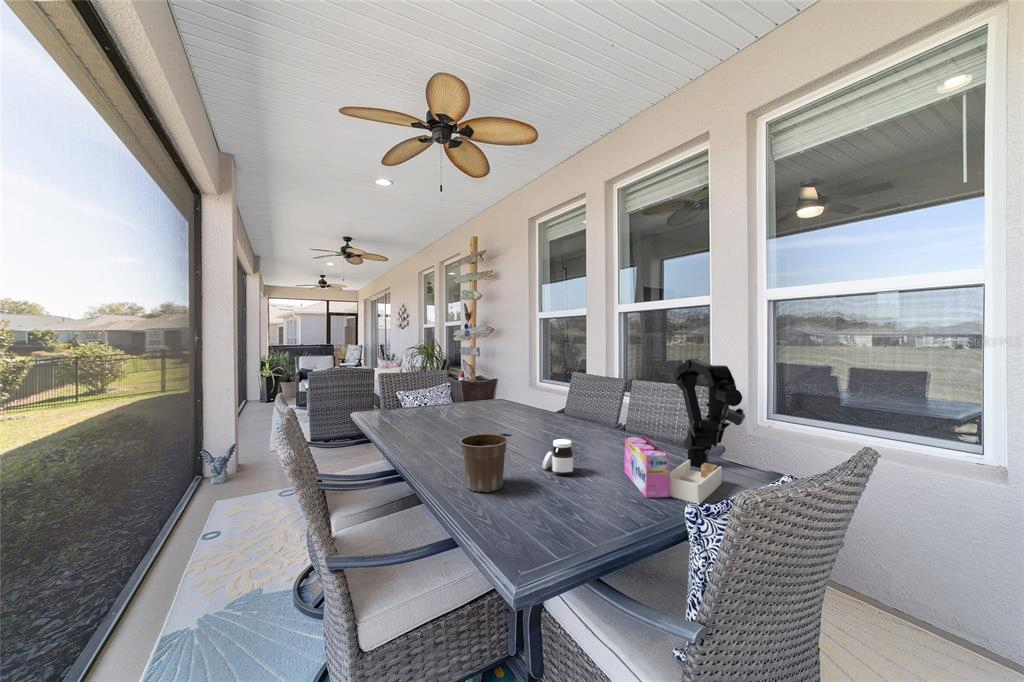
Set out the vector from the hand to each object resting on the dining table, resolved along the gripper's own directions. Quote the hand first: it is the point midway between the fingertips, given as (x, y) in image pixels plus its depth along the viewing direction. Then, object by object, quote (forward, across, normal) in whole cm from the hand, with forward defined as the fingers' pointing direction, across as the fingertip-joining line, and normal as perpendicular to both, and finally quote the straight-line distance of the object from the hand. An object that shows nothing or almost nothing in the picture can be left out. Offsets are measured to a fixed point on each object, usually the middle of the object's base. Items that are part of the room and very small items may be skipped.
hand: (716, 444), depth 145 cm
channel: (+12, -16, +2) cm, 20 cm away
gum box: (+12, -23, +16) cm, 30 cm away
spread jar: (+12, -33, +46) cm, 58 cm away
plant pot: (+12, -61, +56) cm, 84 cm away
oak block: (+10, -8, 0) cm, 12 cm away
